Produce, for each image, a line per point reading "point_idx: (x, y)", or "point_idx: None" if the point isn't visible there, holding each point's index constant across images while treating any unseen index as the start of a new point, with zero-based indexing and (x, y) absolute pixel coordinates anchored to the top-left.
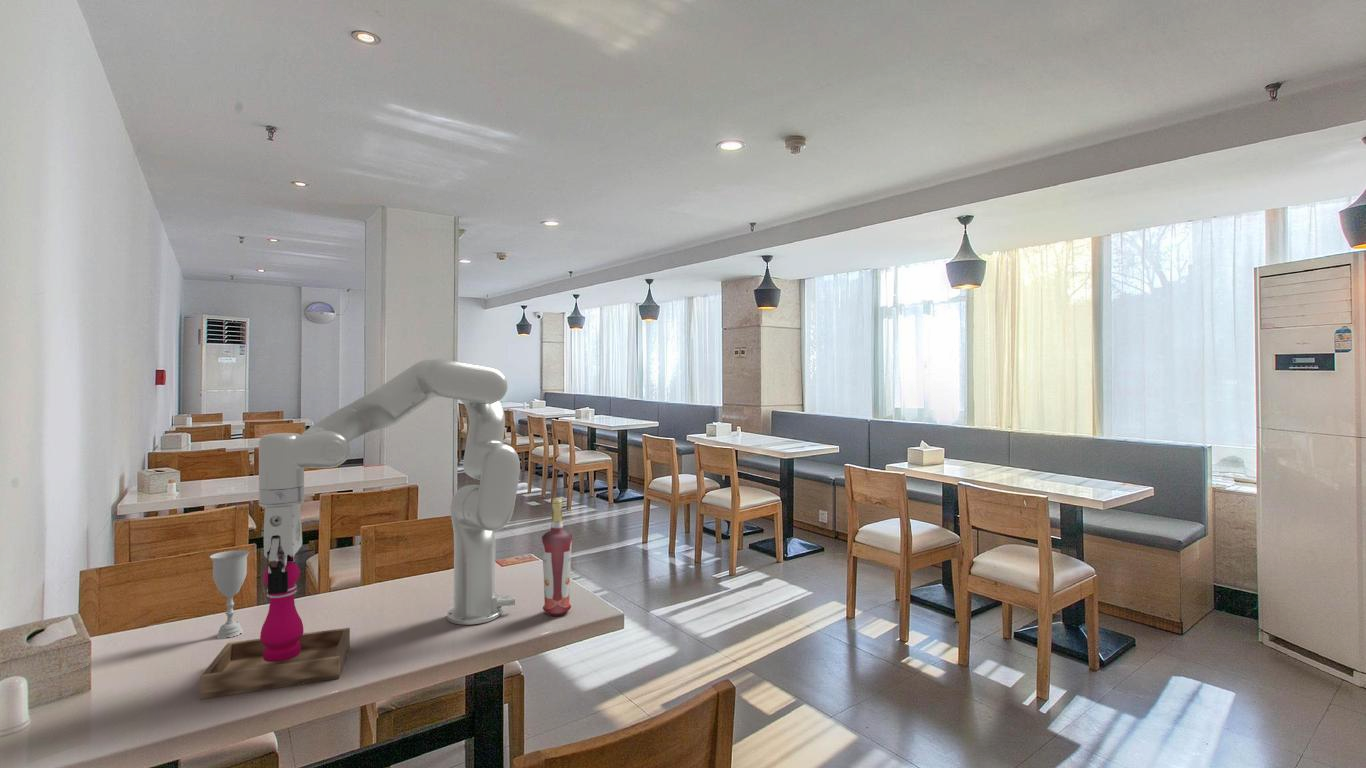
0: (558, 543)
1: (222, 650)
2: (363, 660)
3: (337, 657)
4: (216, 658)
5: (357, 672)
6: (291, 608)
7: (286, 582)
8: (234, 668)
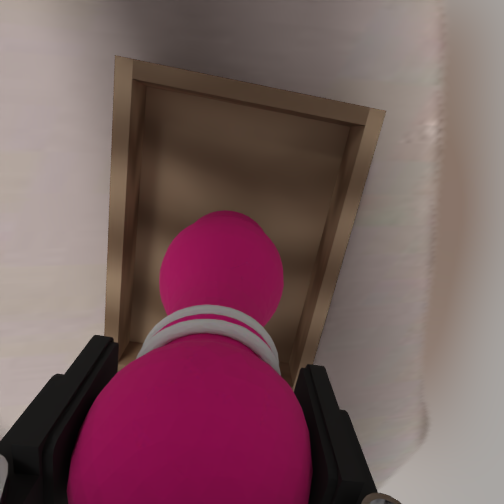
0: None
1: None
2: (273, 37)
3: (380, 114)
4: None
5: (351, 63)
6: (245, 290)
7: (338, 411)
8: None
